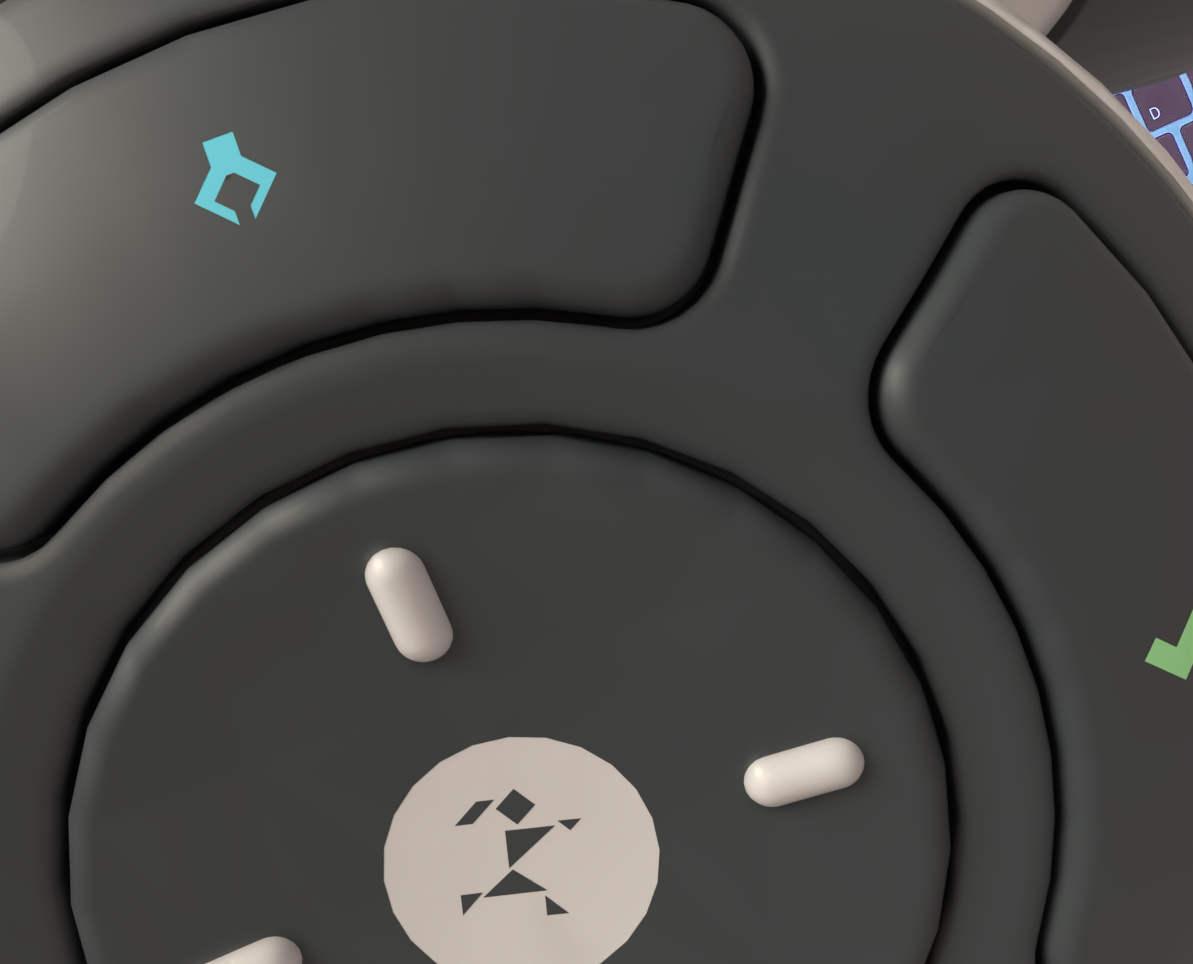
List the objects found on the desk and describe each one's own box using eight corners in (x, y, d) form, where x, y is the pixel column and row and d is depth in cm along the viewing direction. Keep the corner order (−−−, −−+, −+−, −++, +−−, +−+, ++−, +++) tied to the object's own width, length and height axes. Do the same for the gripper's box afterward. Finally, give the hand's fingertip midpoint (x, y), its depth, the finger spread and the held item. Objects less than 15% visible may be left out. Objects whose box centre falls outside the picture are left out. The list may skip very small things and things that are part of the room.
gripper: (727, 1033, 19) (673, 800, 33) (741, 71, 19) (681, 242, 33) (431, 1028, 19) (502, 797, 33) (444, 67, 19) (509, 240, 33)
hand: (592, 515), depth 33 cm, fingers open, 8 cm apart
